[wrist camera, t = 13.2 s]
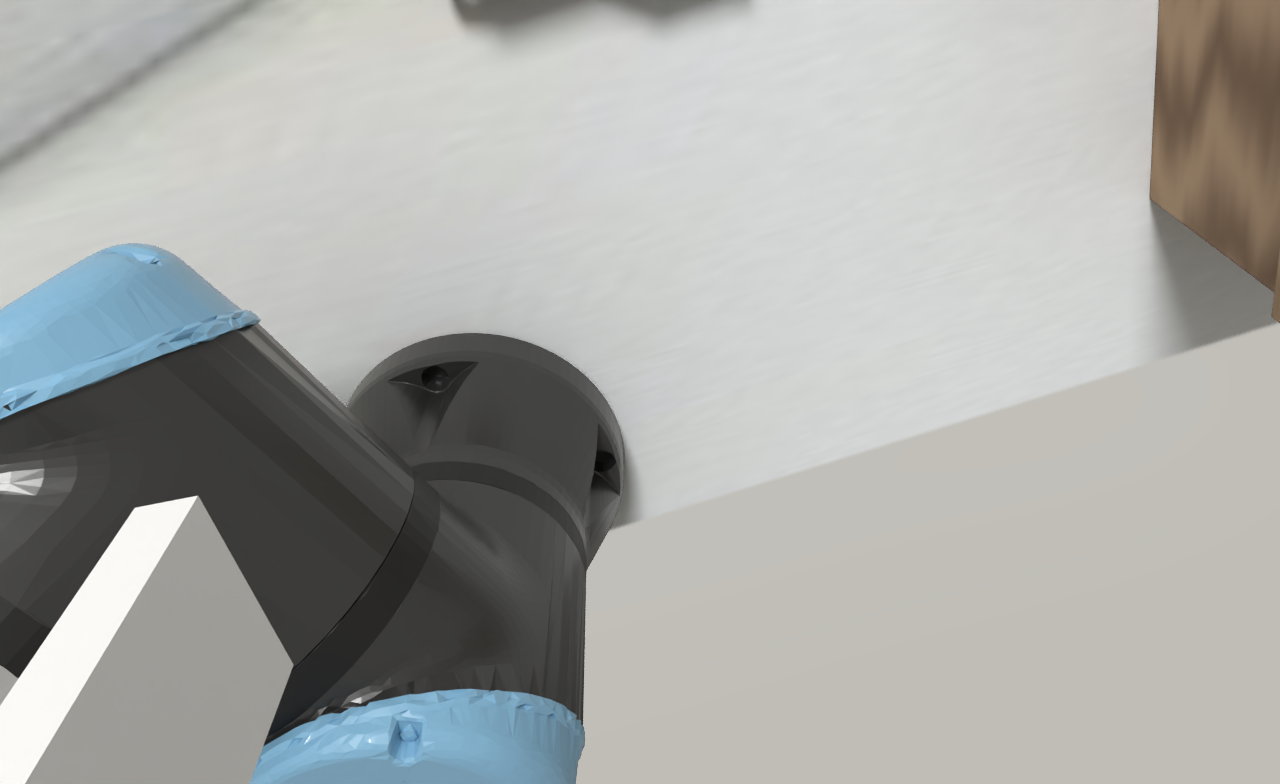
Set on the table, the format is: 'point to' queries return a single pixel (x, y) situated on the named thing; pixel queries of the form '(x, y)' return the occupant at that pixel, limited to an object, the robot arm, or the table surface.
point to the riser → (1221, 128)
